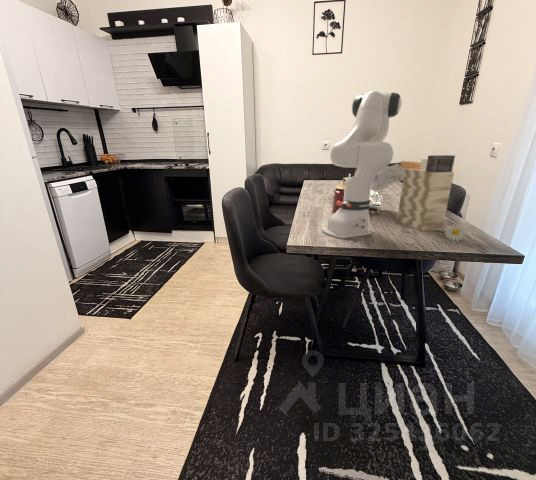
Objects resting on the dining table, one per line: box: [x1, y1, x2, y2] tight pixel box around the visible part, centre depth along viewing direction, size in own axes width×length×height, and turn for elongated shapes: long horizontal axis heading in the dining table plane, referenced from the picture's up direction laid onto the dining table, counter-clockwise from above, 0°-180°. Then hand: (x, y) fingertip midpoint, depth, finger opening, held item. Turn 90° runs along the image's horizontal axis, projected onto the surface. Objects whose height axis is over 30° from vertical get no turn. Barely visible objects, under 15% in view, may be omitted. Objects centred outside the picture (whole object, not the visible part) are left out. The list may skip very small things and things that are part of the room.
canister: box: [331, 180, 347, 213], centre depth 161 cm, size 13×13×18 cm
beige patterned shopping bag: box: [396, 154, 456, 232], centre depth 131 cm, size 19×10×33 cm, turn 11°
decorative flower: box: [434, 223, 467, 242], centre depth 120 cm, size 8×6×15 cm
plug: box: [400, 158, 428, 171], centre depth 132 cm, size 24×6×5 cm, turn 11°
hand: (406, 164), depth 141 cm, fingers open, 8 cm apart
